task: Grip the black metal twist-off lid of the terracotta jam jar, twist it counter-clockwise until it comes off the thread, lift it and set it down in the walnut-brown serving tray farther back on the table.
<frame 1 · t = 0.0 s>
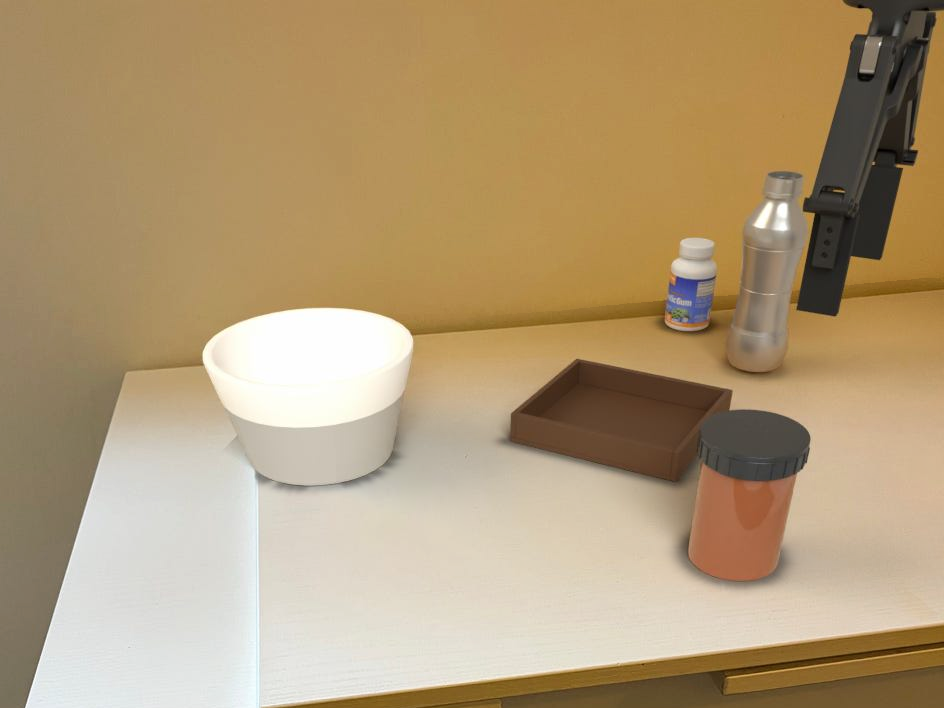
hand: (841, 283, 73), 20 cm above the table, tool pointing down, fingers open, 13 cm apart
tray: (621, 429, 100), on the table
jam jar: (732, 556, 81), on the table
pill bottle: (686, 325, 122), on the table
jar lid: (754, 437, 75), point 11 cm above the table, screwed on, not yet turned
bowl: (321, 452, 97), on the table
silver bottle: (752, 369, 111), on the table
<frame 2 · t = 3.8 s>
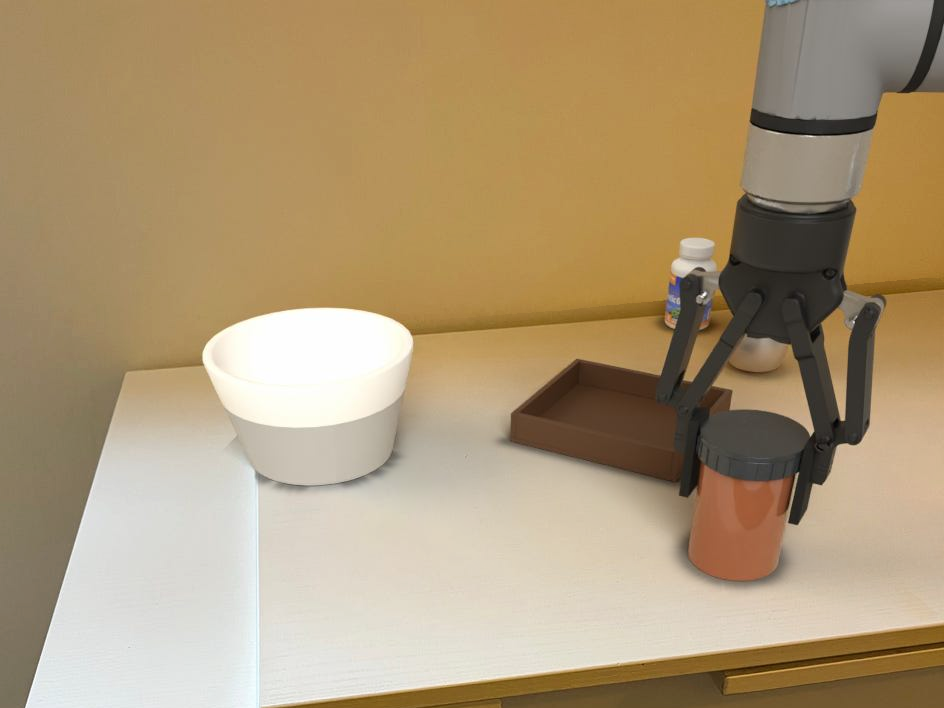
hand: (742, 502, 78), 5 cm above the table, tool pointing down, fingers closed on jar lid, 8 cm apart
jar lid: (753, 437, 75), point 11 cm above the table, screwed on, not yet turned, touching gripper
everything else where it was.
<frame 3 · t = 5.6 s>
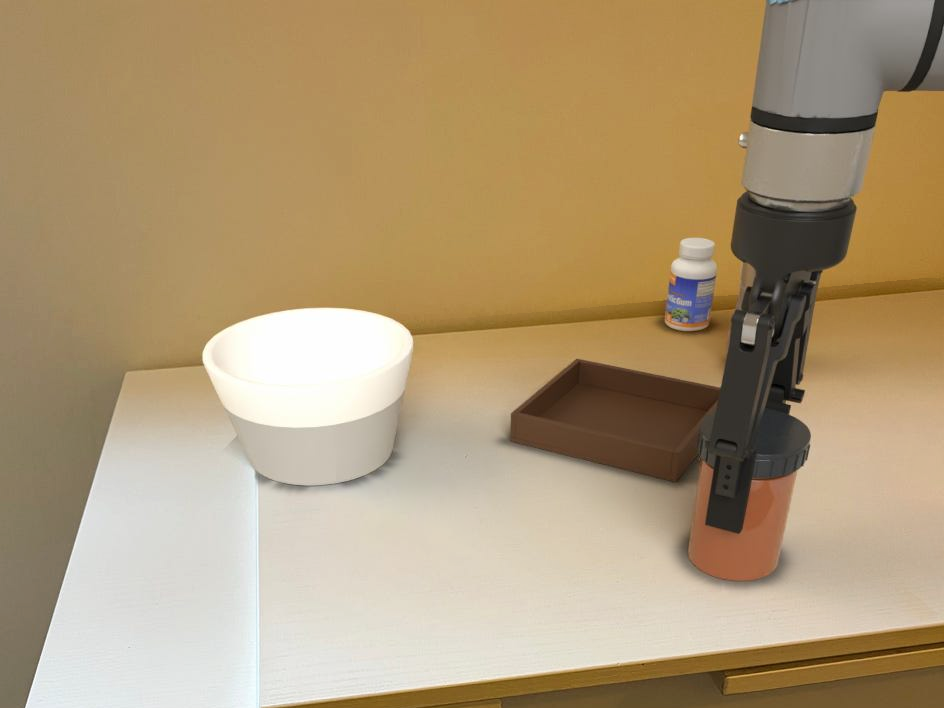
hand: (741, 500, 78), 5 cm above the table, tool pointing down, fingers closed on jar lid, 8 cm apart
jar lid: (754, 434, 75), point 11 cm above the table, turned 90° so far, risen 0.2 cm, still on its thread, touching gripper
everything else where it was.
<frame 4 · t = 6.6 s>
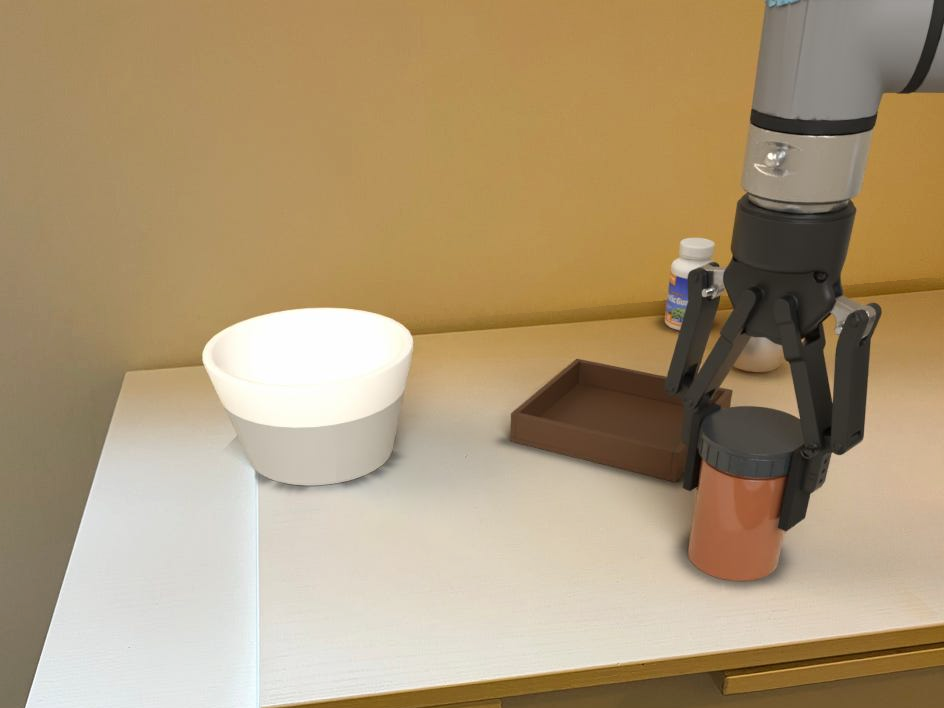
hand: (742, 502, 78), 5 cm above the table, tool pointing down, fingers closed on jar lid, 8 cm apart
jar lid: (755, 434, 75), point 11 cm above the table, off its thread, touching gripper
everything else where it was.
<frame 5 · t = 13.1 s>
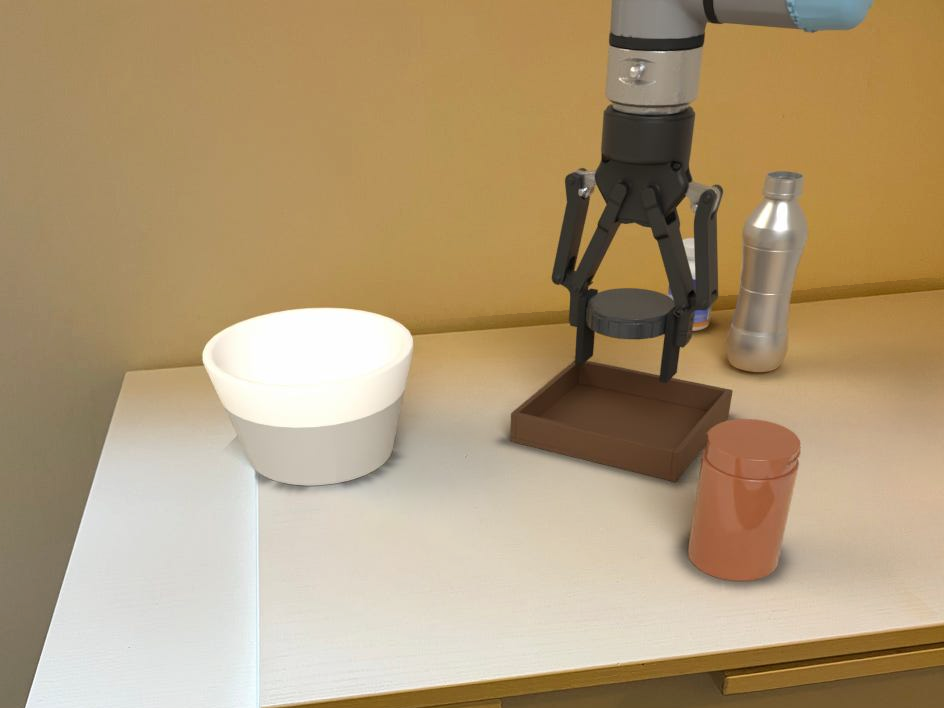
hand: (625, 367, 96), 6 cm above the table, tool pointing down, fingers closed on jar lid, 8 cm apart
jar lid: (631, 307, 92), point 12 cm above the table, off its thread, touching gripper
everything else where it was.
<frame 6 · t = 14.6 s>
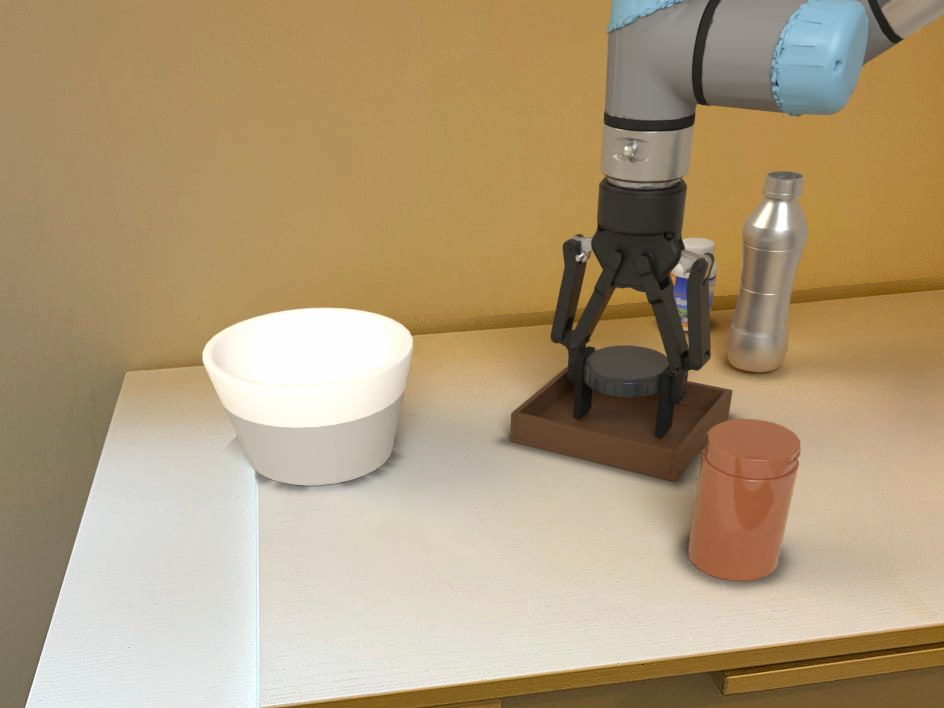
hand: (622, 421, 99), 1 cm above the table, tool pointing down, fingers closed on jar lid, 8 cm apart
jar lid: (627, 365, 96), point 7 cm above the table, off its thread, touching gripper
everything else where it was.
when the fingers open (2 cm above the table, at t = 22.6 s): jar lid drops 6 cm, resting on tray.
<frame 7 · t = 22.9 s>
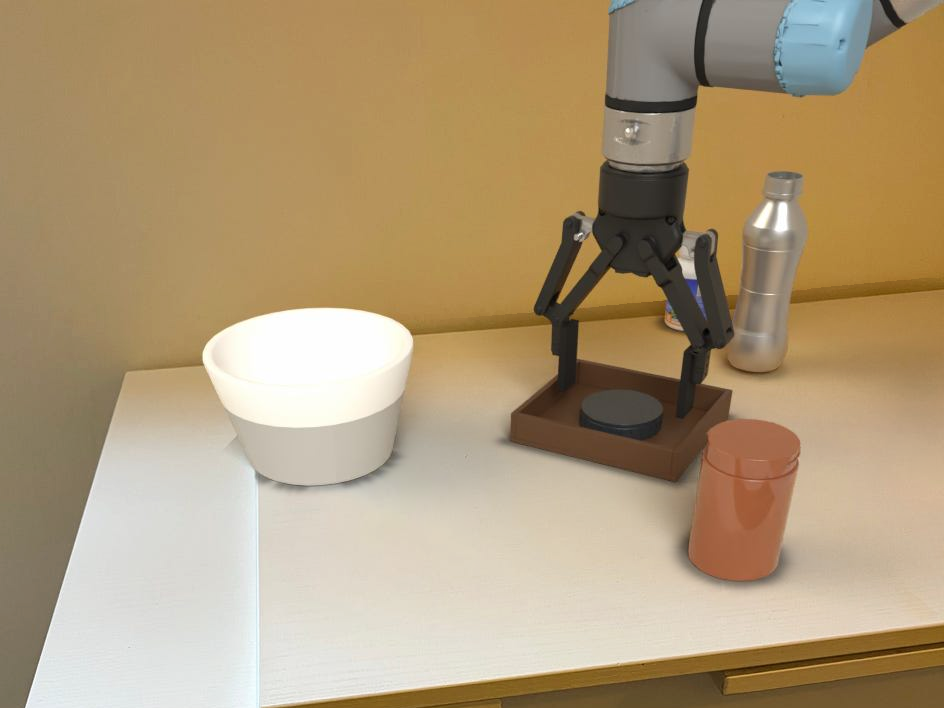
hand: (623, 399, 98), 3 cm above the table, tool pointing down, fingers open, 12 cm apart
jar lid: (621, 410, 98), point 2 cm above the table, off its thread, touching tray
everything else where it was.
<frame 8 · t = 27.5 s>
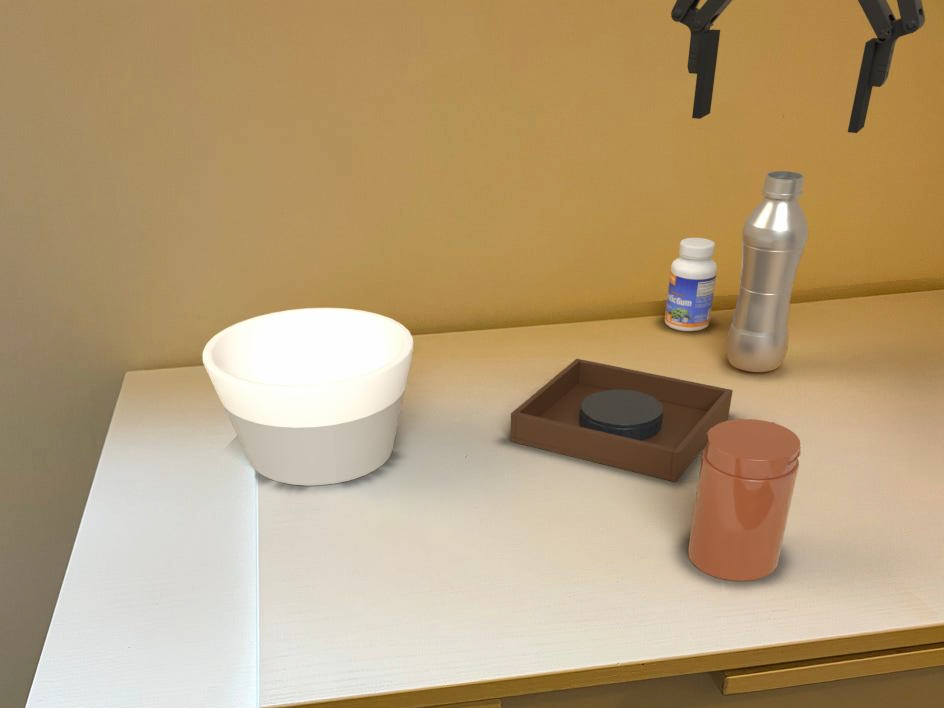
hand: (775, 123, 87), 27 cm above the table, tool pointing down, fingers open, 13 cm apart
nothing on the table moved.
at the end: jar lid came off its thread; jar lid inside the target area in the tray (0.2 cm from its centre), point 2.0 cm above the tray's base; the gripper is holding nothing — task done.
